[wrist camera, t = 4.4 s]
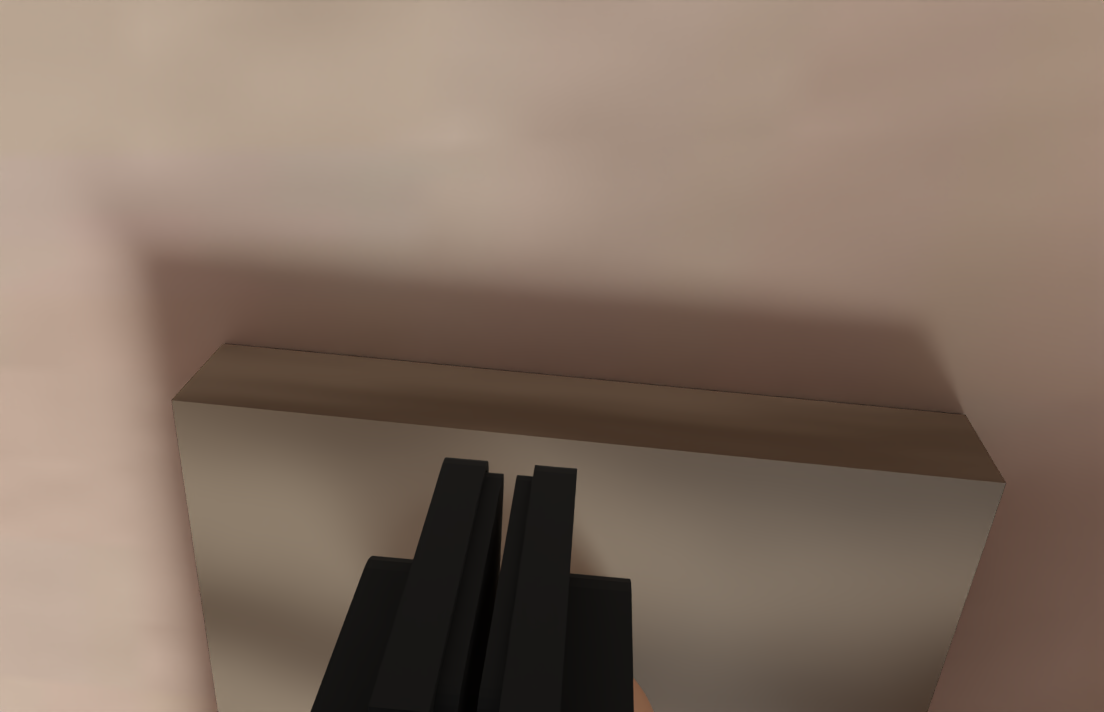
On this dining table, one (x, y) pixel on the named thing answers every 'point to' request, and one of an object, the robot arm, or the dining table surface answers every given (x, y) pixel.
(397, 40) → the dining table surface
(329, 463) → the board
